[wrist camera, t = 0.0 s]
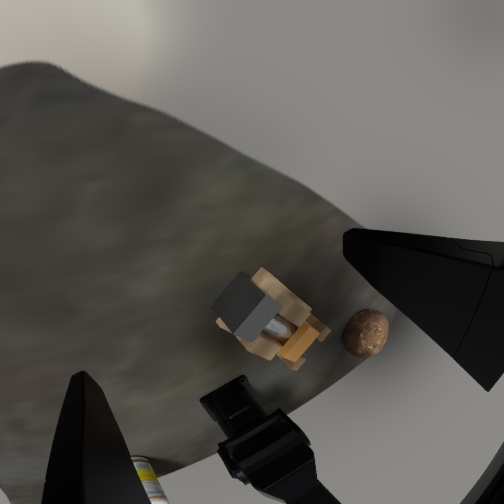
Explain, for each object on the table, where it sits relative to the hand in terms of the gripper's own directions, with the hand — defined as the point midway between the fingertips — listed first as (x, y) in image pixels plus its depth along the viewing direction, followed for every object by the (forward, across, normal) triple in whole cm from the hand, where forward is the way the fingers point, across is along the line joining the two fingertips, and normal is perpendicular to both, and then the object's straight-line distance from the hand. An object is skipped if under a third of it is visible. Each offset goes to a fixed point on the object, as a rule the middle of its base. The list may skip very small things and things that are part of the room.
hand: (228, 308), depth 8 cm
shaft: (+13, -7, +15) cm, 21 cm away
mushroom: (+15, -23, +31) cm, 42 cm away
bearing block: (+15, -8, +17) cm, 24 cm away
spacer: (+12, -9, +18) cm, 24 cm away
